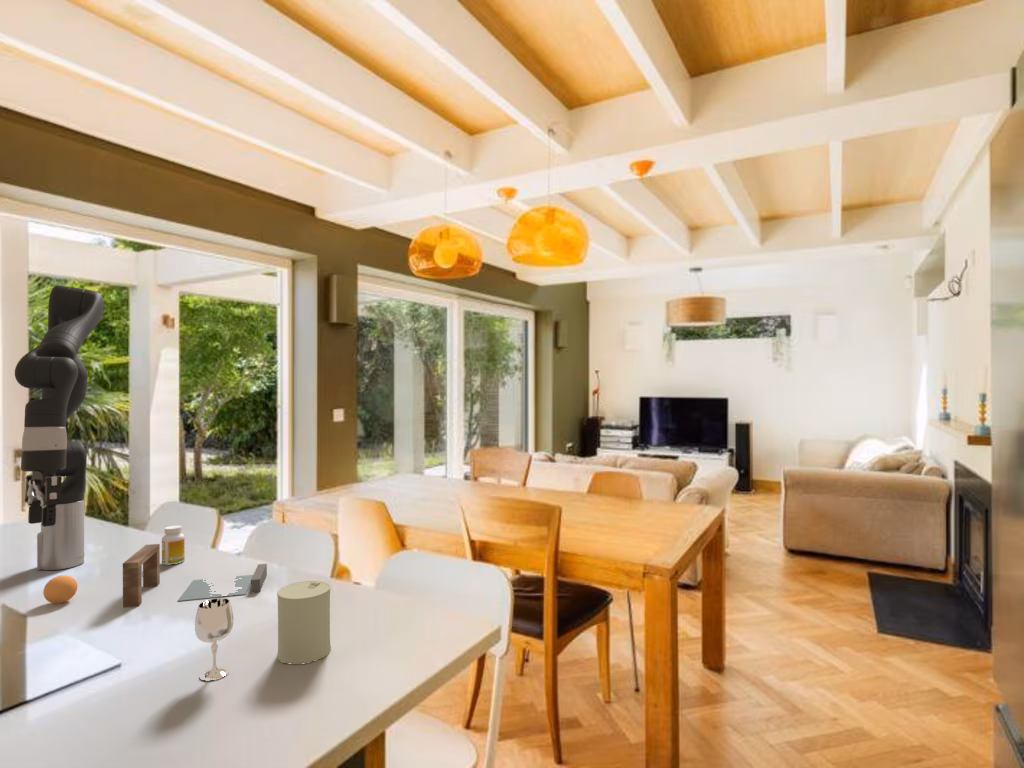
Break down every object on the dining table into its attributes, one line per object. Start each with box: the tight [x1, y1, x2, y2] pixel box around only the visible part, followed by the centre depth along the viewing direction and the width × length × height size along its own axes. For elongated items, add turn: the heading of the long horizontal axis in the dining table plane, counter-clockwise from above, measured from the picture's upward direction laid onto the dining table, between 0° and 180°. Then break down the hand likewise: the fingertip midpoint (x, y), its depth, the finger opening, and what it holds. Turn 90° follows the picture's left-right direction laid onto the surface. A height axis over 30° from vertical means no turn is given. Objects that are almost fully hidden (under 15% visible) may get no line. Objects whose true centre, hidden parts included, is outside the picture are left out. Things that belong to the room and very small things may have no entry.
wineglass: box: [194, 597, 234, 679], centre depth 95 cm, size 6×6×12 cm
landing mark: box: [177, 574, 253, 602], centre depth 136 cm, size 14×14×1 cm
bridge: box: [122, 543, 161, 609], centre depth 132 cm, size 3×15×10 cm, turn 17°
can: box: [276, 580, 332, 665], centre depth 103 cm, size 9×9×12 cm
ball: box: [42, 574, 78, 605], centre depth 127 cm, size 6×6×6 cm
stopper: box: [250, 563, 268, 594], centre depth 139 cm, size 2×12×3 cm, turn 17°
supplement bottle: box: [161, 525, 186, 566], centre depth 156 cm, size 5×5×10 cm
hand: (41, 524), depth 121 cm, fingers open, 8 cm apart
